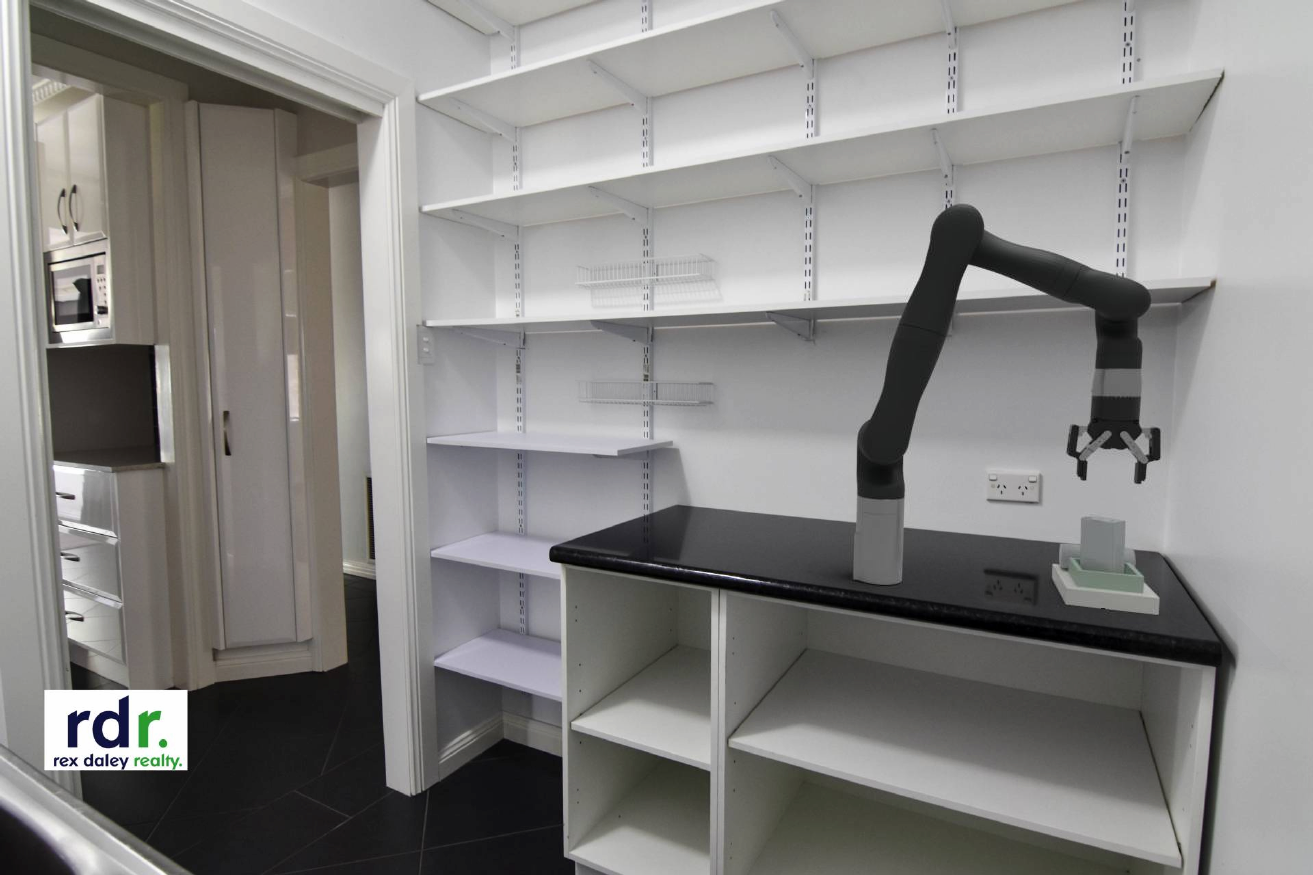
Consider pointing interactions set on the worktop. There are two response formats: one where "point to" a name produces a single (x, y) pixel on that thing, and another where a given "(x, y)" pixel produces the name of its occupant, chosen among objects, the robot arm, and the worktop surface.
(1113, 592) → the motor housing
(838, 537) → the worktop surface
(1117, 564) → the skincare box
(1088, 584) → the green piece
